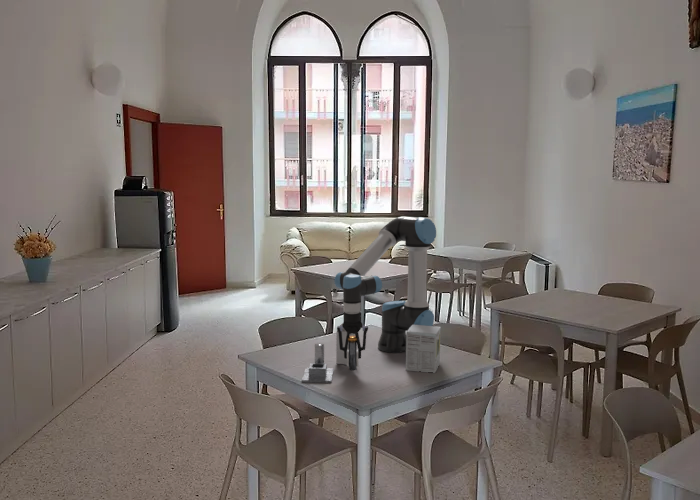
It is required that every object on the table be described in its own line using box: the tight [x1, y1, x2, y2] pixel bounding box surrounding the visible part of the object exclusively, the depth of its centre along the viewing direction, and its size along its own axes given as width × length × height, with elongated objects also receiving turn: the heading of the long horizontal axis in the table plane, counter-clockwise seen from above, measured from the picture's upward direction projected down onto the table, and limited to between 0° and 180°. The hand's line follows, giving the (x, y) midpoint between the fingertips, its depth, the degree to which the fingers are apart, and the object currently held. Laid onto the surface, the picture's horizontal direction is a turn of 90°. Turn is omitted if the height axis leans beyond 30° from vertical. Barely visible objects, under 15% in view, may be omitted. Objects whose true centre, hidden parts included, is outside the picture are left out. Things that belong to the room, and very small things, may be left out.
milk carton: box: [335, 322, 355, 366], centre depth 280 cm, size 7×7×19 cm
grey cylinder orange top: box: [348, 336, 358, 372], centre depth 265 cm, size 5×5×14 cm
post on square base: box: [301, 342, 334, 384], centre depth 262 cm, size 12×16×12 cm
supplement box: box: [405, 325, 442, 374], centre depth 274 cm, size 13×13×18 cm
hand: (352, 365), depth 266 cm, fingers closed on grey cylinder orange top, 3 cm apart
